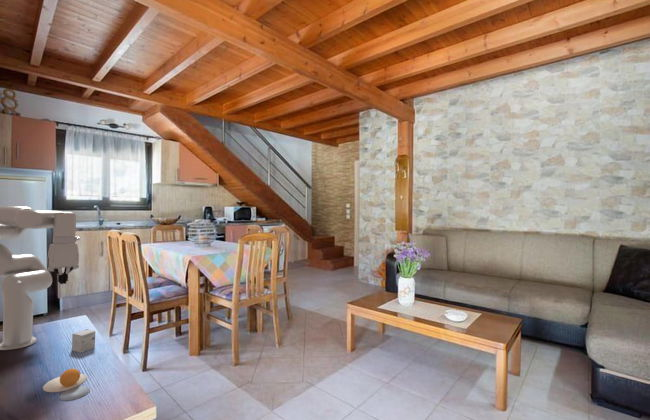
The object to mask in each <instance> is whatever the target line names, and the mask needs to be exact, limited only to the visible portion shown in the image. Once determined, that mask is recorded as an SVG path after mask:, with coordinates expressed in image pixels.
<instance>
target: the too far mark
mask: <svg viewBox="0 0 650 420" xmlns="http://www.w3.org/2000/svg"><path fill="white" fill-rule="evenodd" d="M90 391H91V388H90V387H89V386H77V387H74V388H72V389H69V390H65V391H62V393H61V394H60V395H59V400H60V401H63V402H64V401H65V402H68V401H69V400H70V401H74V400H78V399H80V398H83V397H85V396H87V395H88V394H89V393H90Z"/></svg>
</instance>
